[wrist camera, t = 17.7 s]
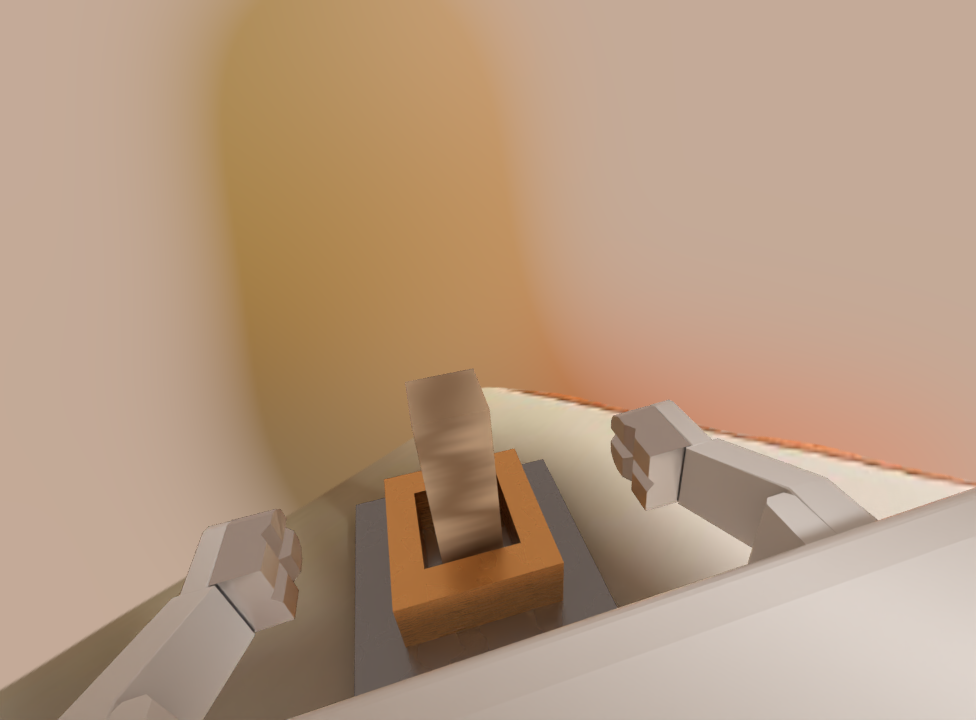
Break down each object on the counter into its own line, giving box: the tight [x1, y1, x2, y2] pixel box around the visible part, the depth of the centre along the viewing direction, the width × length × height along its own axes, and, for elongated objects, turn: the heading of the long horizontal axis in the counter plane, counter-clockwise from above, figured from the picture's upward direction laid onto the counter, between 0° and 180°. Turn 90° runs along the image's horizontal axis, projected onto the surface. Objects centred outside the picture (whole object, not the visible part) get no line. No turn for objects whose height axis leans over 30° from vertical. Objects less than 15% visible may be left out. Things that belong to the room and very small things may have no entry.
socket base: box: [354, 449, 617, 697], centre depth 31 cm, size 16×14×6 cm
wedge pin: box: [405, 369, 503, 564], centre depth 28 cm, size 4×4×14 cm
